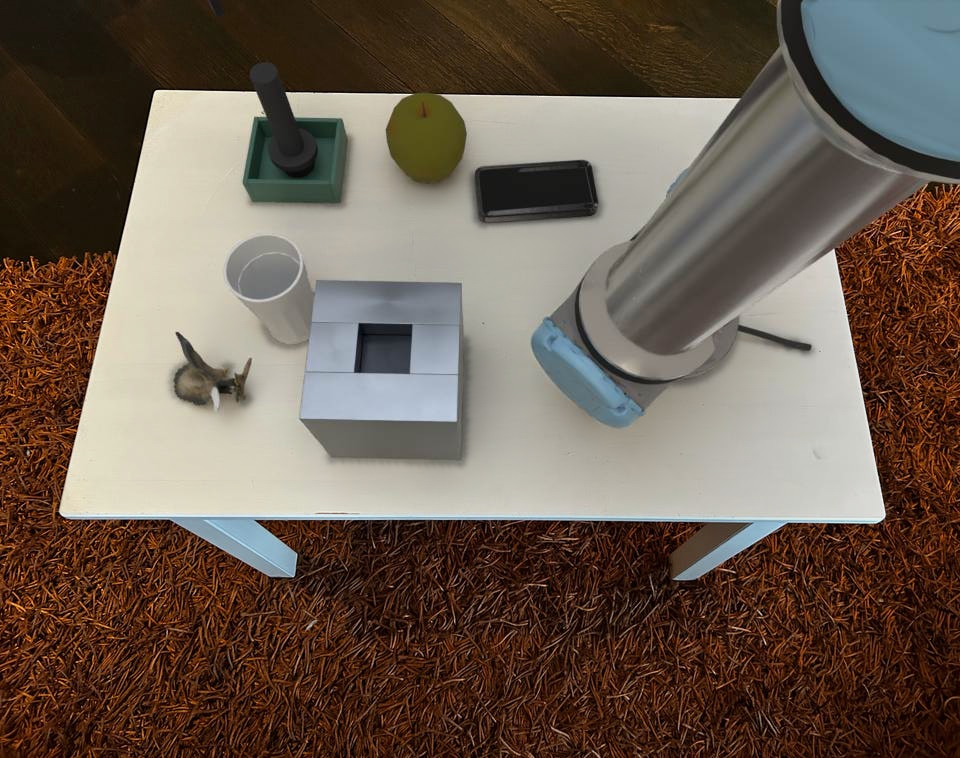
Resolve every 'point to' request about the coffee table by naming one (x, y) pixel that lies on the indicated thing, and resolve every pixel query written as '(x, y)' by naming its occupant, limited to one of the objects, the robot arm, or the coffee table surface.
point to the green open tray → (314, 188)
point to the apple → (426, 137)
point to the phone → (535, 191)
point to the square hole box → (385, 369)
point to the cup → (272, 284)
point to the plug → (283, 124)
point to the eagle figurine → (206, 379)
